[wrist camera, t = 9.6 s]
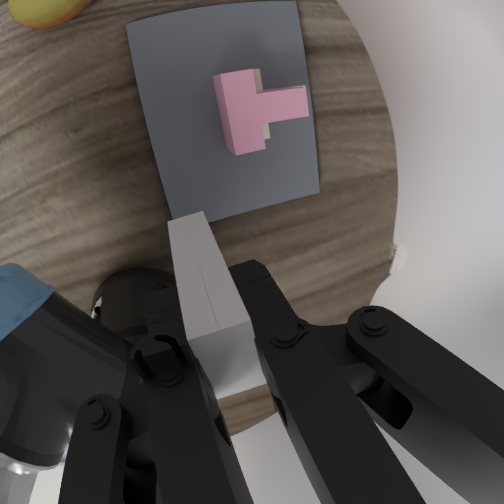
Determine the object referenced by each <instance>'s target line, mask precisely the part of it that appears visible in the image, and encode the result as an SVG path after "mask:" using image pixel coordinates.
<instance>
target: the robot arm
mask: <svg viewBox="0 0 504 504" xmlns="http://www.w3.org/2000/svg"><path fill="white" fill-rule="evenodd" d="M167 223H168V230H169V238H170V245H171V252H172V258H173V265H174V271H175V276H173V275H171V274H169V273H167V272H164V271H160V270H156V269H148V268H139V269H131V270H126V271H123V272H120V273H118V274H116V275H114V276H112V277H110V278H109V279H107V280H106V281H105V282H104V283H103V284H102V285H101V286H100V287H99V289H98V290H97V292H96V294H95V296H94V299H93V303H92V309H91V317H90V316H89V315H87V314H86V313H85V312H83V311H82V310H80V309H79V308H77V307H76V306H75V305H73V304H72V303H70V302H69V301H68V300H66V299H65V298H64V297H62V296H61V295H60V294H58V293H57V292H56V291H54V289H55V288H54V287H53V286H52V285H50V284H45V283H44V282H42V281H41V280H40V279H38V278H37V277H35V276H34V275H33V274H31V273H30V272H29V271H27V270H26V269H25V268H23V267H22V266H20V265H18V264H15V263H8V264H4V265H2V266H0V504H28V503H29V500H30V497H31V493H32V490H33V486H34V483H35V480H36V477H37V473H38V471H42V470H49V469H53V468H55V467H57V466H58V465H59V464H60V461H61V458H62V456H63V453H64V450H65V448H66V446H67V445H68V444H69V447H68V452H67V456H66V461H65V466H64V472H63V477H62V482H61V488H60V494H59V501H58V504H254V503H253V500H252V497H251V495H250V492H249V489H248V487H247V484H246V481H245V478H244V476H243V473H242V471H241V467H240V465H239V462H238V459H237V456H236V453H235V450H234V447H233V445H232V441H231V438H230V435H229V432H228V429H227V426H226V423H225V420H224V416H223V414H222V413H221V411H220V409H219V407H218V404H217V400H216V398H217V399H220V398H223V397H227V396H230V395H233V394H236V393H239V392H242V391H245V390H248V389H251V388H254V387H257V386H260V385H263V384H265V383H266V381H267V384H268V386H269V388H270V391H271V395H272V399H273V403H274V407H275V411H276V410H278V413H279V415H280V417H281V419H282V422H283V424H284V426H285V428H286V430H287V433H288V435H289V437H290V439H291V441H292V443H293V446H294V448H295V450H296V452H297V454H298V456H299V459H300V461H301V463H302V465H303V467H304V469H305V471H306V474H307V476H308V478H309V480H310V482H311V484H312V486H313V488H314V490H315V492H316V494H317V496H318V498H319V500H320V502H321V504H426V503H425V501H424V500H423V498H422V497H421V495H420V493H419V492H418V490H417V488H416V487H415V485H414V484H413V482H412V481H411V479H410V477H409V476H408V474H407V473H406V471H405V469H404V468H403V466H402V465H401V463H400V462H399V460H398V458H397V457H396V455H395V454H394V452H393V451H392V449H391V448H390V446H389V444H388V443H387V441H386V440H385V438H384V437H383V435H382V433H381V432H380V430H379V429H378V427H377V426H376V424H375V423H374V421H375V422H376V423H377V424H378V425H379V426H380V427H382V428H383V429H384V430H385V431H386V432H387V433H388V434H389V435H390V436H391V437H393V438H394V439H395V440H396V441H397V442H398V443H399V444H400V445H402V446H403V447H404V448H405V449H406V450H407V451H408V452H409V453H411V454H412V455H413V456H414V457H415V458H416V459H418V460H419V461H420V462H421V463H422V464H423V465H424V466H426V467H427V468H428V469H429V470H430V471H432V472H433V473H434V474H435V475H436V476H437V477H439V478H440V479H441V480H442V481H443V482H445V483H446V484H447V485H448V486H449V487H451V488H452V489H453V490H454V491H456V492H457V493H458V494H459V495H460V496H462V497H463V498H464V499H465V500H466V501H468V502H469V503H470V504H504V390H502V389H501V388H500V387H498V386H497V385H496V384H494V383H493V382H491V381H490V380H489V379H488V378H486V377H485V376H483V375H482V374H480V373H479V372H478V371H477V370H475V369H474V368H472V367H471V366H469V365H468V364H467V363H465V362H464V361H462V360H461V359H460V358H458V357H457V356H456V355H454V354H452V353H451V352H450V351H448V350H447V349H446V348H444V347H443V346H441V345H440V344H439V343H437V342H435V341H434V340H433V339H431V338H430V337H428V336H427V335H426V334H424V333H422V332H421V331H420V330H418V329H417V328H415V327H414V326H412V325H411V324H410V323H408V322H406V321H405V320H404V319H402V318H401V317H399V316H398V315H396V314H395V313H393V312H392V311H390V310H388V309H386V308H384V307H380V306H365V307H361V308H359V309H357V310H355V311H354V312H353V313H352V314H351V315H350V316H349V318H348V322H347V323H346V324H338V325H330V326H317V325H311V324H309V323H308V322H307V321H306V320H303V319H301V318H299V317H298V316H297V315H296V314H295V312H294V311H293V309H292V308H291V306H290V304H289V303H288V301H287V300H286V298H285V297H284V295H283V293H282V292H281V290H280V289H279V287H278V286H277V285H276V282H275V281H274V279H273V278H272V277H271V275H270V273H269V271H268V270H267V268H266V267H265V265H263V264H261V263H259V262H258V261H256V260H254V259H253V260H249V261H246V262H243V263H240V264H237V265H234V266H231V267H227V266H226V263H225V261H224V259H223V256H222V254H221V252H220V250H219V247H218V245H217V243H216V240H215V238H214V236H213V233H212V231H211V229H210V226H209V224H208V222H207V219H206V217H205V215H204V212H203V211H201V212H197V213H194V214H191V215H187V216H184V217H181V218H178V219H174V220H171V221H168V222H167ZM215 396H216V397H215ZM373 420H374V421H373Z"/></svg>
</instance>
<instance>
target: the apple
mask: <svg viewBox="0 0 504 504" xmlns="http://www.w3.org/2000/svg"><path fill="white" fill-rule="evenodd" d="M91 2H92V0H8V8H9V11H10V13H11V15H12V17H13V19H14V20H16V21H17V22H19V23H21V24H22V25H24V26H26V27H27V28H32V29H48V28H51V27H54V26H57V25H61V24H63V23H65V22H66V21H68V20H70V19H71V18H73V17H75V16H76V15H78V14H79V13H80V12H81V11H82V10H83V9H84V8H85V7H86V6H87V5H88V4H89V3H91Z"/></svg>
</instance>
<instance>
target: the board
mask: <svg viewBox="0 0 504 504" xmlns="http://www.w3.org/2000/svg"><path fill="white" fill-rule="evenodd" d="M126 30H127V36H128V41H129V47H130V52H131V57H132V62H133V67H134V72H135V76H136V81H137V86H138V90H139V95H140V99H141V103H142V108H143V112H144V116H145V120H146V124H147V128H148V132H149V136H150V140H151V144H152V148H153V152H154V156H155V159H156V163H157V167H158V170H159V174H160V178H161V181H162V185H163V188H164V192H165V195H166V199H167V202H168V205H169V209H170V212H171V215H172V219H173V220H174V219H178V218H181V217H184V216H187V215H191V214H194V213H197V212H201V211H203V212H204V215H205V217H206V219H207V222H208V223H209V222H212V221H216V220H219V219H223V218H226V217H230V216H234V215H237V214H241V213H244V212H248V211H252V210H255V209H259V208H263V207H266V206H270V205H274V204H278V203H281V202H285V201H289V200H293V199H297V198H301V197H304V196H308V195H312V194H316V193H320V190H319V175H318V163H317V151H316V140H315V130H314V120H313V111H312V103H311V94H310V87H309V79H308V72H307V65H306V58H305V51H304V45H303V39H302V33H301V27H300V21H299V16H298V10H297V5H296V1H259V2H243V3H231V4H222V5H213V6H206V7H199V8H193V9H187V10H182V11H176V12H171V13H167V14H162V15H158V16H154V17H149V18H145V19H142V20H138V21H134V22H131V23H127V24H126ZM248 69H253V74H254V80H255V86H256V92H257V91H263V90H270V89H277V88H285V87H306V95H307V103H308V110H309V116H306V117H300V118H294V119H287V120H282V121H276V122H270V123H265V124H262V128H263V134H264V141H265V147H266V149H262V150H258V151H254V152H249V153H245V154H241V155H235V154H233V153H232V152H231V151H230V150H228V149H227V147H226V142H225V137H224V132H223V127H222V122H221V117H220V112H219V107H218V102H217V97H216V92H215V86H214V81H213V76H215V75H219V74H223V73H229V72H235V71H241V70H248Z"/></svg>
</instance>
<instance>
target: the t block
mask: <svg viewBox="0 0 504 504" xmlns="http://www.w3.org/2000/svg"><path fill="white" fill-rule="evenodd" d="M213 81H214V86H215V92H216V97H217V102H218V107H219V112H220V117H221V122H222V127H223V132H224V137H225V142H226V147H227V149H228V150H230V151H231V152H232V153H233V154H235V155H241V154H245V153H249V152H254V151H258V150H262V149H266V147H265V141H264V134H263V128H262V124H265V123H270V122H276V121H282V120H287V119H294V118H300V117H306V116H309V110H308V103H307V95H306V87H285V88H277V89H270V90H263V91H257V92H256V86H255V80H254V74H253V69H248V70H241V71H235V72H229V73H223V74H219V75H215V76H213Z"/></svg>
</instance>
